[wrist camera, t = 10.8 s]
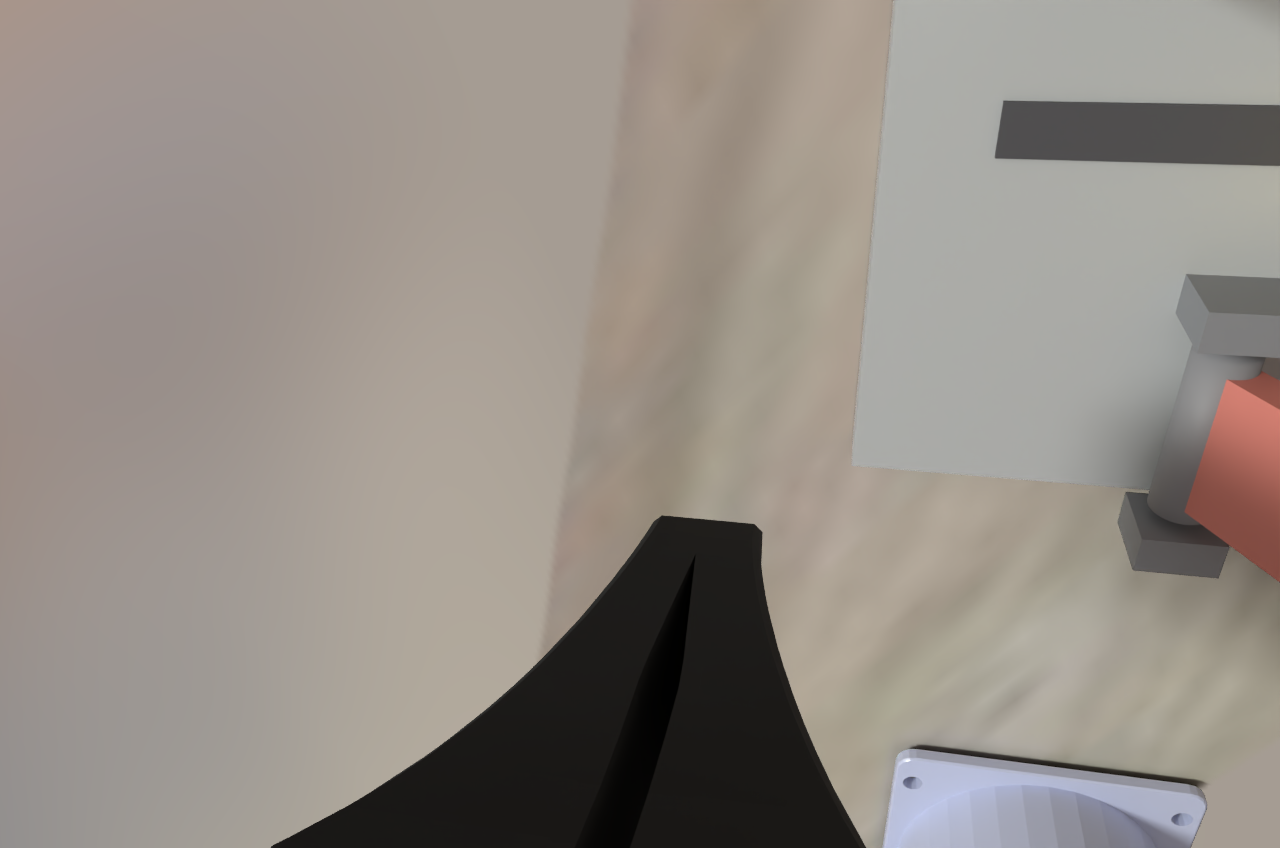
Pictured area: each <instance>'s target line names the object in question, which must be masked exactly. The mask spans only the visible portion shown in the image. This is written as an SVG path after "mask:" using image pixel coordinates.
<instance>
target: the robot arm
mask: <svg viewBox="0 0 1280 848" xmlns="http://www.w3.org/2000/svg"><path fill="white" fill-rule="evenodd" d="M761 555H762V531H761V530H760V529H759V528H758V527H757V526H756V525H755V524H748V523H737V522H726V521H715V520H705V519H694V518H683V517H672V516H661V517H659V518H658V519H657V520H655V521H654V522H653V524H652V525H651V527H650V528H649V530H648V531H647V533H646V534H645V536H644V537H643V539H642V540H641V542H640V543H639V545H638V546H637V547H636V549H635V550H634V552H633V553H632V554H631V556H630V557H629V558H628V560H627V561H626V562H625V564H624V565H623V566H622V568H621V569H620V570H619V572H618V573H617V574H616V576H615V577H614V578H613V579H612V581H611V582H610V583H609V584H608V585H607V587H606V588H605V589H604V590H603V591H602V593H601V594H600V595H599V596H598V597H597V599H596V600H595V601H594V602H593V603H592V605H591V606H590V607H589V608H588V609H587V611H586V612H585V613H584V614H583V615H582V617H581V618H580V619H579V620H578V621H577V622H576V623H575V624H574V625H573V626H572V627H571V629H570V630H569V631H568V632H567V633H566V634H565V635H564V636H563V637H562V638H561V639H560V640H559V641H558V642H557V643H556V644H555V645H554V646H553V648H552V649H551V650H550V651H549V652H548V653H547V654H546V655H545V656H544V657H543V658H542V659H541V660H540V661H539V662H538V663H537V664H536V665H535V666H534V667H533V668H532V669H531V670H530V671H529V672H528V673H527V674H526V675H525V676H524V677H522V678H521V679H520V680H519V681H518V682H517V683H516V684H515V685H514V686H513V687H512V688H510V689H509V690H508V691H507V692H506V693H505V694H504V695H503V696H502V697H500V698H499V699H498V700H497V701H496V702H494V703H493V704H492V705H491V706H490V707H489V708H487V709H486V710H485V711H484V712H483V713H481V714H480V715H479V716H477V717H476V718H475V719H474V720H472V721H471V722H470V723H469V724H467V725H466V726H465V727H464V728H462V729H461V730H460V731H459V732H457V733H456V734H455V735H454V736H452V737H451V738H450V739H448V740H447V741H446V742H444V743H443V744H442V745H440V746H439V747H438V748H436V749H435V750H433V751H432V752H431V753H429V754H428V755H427V756H425V757H424V758H422V759H421V760H419V761H418V762H416V763H414V764H413V765H411V766H410V767H408V768H407V769H405V770H404V771H402V772H401V773H399V774H398V775H396V776H395V777H393V778H392V779H390V780H388V781H387V782H385V783H384V784H382V785H381V786H379V787H378V788H376V789H375V790H373V791H372V792H371V793H369V794H367V795H365V796H364V797H362V798H360V799H359V800H357V801H355V802H354V803H352V804H350V805H349V806H347V807H345V808H343V809H341V810H339V811H337V812H336V813H334V814H332V815H330V816H328V817H326V818H324V819H322V820H321V821H319V822H317V823H315V824H313V825H311V826H309V827H308V828H306V829H304V830H302V831H300V832H298V833H296V834H295V835H293V836H291V837H289V838H287V839H285V840H283V841H281V842H279V843H277V844H275V845H273V846H271V848H866V847H865V845H864V843H863V841H862V839H861V838H860V836H859V834H858V832H857V830H856V829H855V827H854V825H853V823H852V821H851V819H850V818H849V816H848V814H847V812H846V810H845V809H844V807H843V805H842V803H841V801H840V799H839V798H838V796H837V794H836V792H835V790H834V788H833V786H832V784H831V782H830V780H829V778H828V776H827V774H826V772H825V769H824V767H823V765H822V763H821V761H820V759H819V757H818V755H817V752H816V750H815V748H814V746H813V743H812V741H811V739H810V736H809V734H808V732H807V729H806V727H805V725H804V722H803V719H802V717H801V714H800V712H799V709H798V707H797V704H796V701H795V699H794V696H793V693H792V690H791V687H790V684H789V681H788V678H787V675H786V672H785V670H784V667H783V663H782V660H781V657H780V653H779V650H778V647H777V643H776V639H775V635H774V631H773V627H772V623H771V619H770V615H769V611H768V606H767V601H766V596H765V590H764V584H763V577H762V568H761ZM911 777H915V778H911ZM1206 810H1207V802H1206V799H1205V796H1204V794H1203V792H1202V790H1201V789H1199V788H1197V787H1196V786H1193V785H1189V784H1182V783H1175V782H1167V781H1159V780H1152V779H1144V778H1136V777H1128V776H1121V775H1113V774H1105V773H1098V772H1090V771H1082V770H1075V769H1067V768H1059V767H1051V766H1044V765H1036V764H1028V763H1021V762H1013V761H1005V760H997V759H990V758H982V757H974V756H967V755H959V754H951V753H944V752H936V751H928V750H920V749H908V750H904V751H902V752H901V753H899V754H898V755H897V758H896V762H895V768H894V775H893V781H892V788H891V795H890V801H889V808H888V814H887V821H886V828H885V834H884V841H883V847H882V848H1191V846H1192V843H1193V841H1194V838H1195V836H1196V833H1197V831H1198V829H1199V826H1200V824H1201V821H1202V819H1203V816H1204V814H1205V812H1206Z"/></svg>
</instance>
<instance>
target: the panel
mask: <svg viewBox="0 0 1280 848" xmlns="http://www.w3.org/2000/svg"><path fill="white" fill-rule="evenodd" d="M1192 345H1193V346H1194V348H1195V350H1196V352H1197V353H1201V354H1218V355H1235V356H1252V357H1266V359H1265V362H1264V365H1263V368H1262V371H1263V372H1265V373H1266V374H1268V375H1270V376H1272V377H1274V378H1276V379H1277V380H1279V381H1280V0H893V10H892V21H891V32H890V43H889V53H888V64H887V75H886V85H885V96H884V107H883V118H882V128H881V139H880V150H879V160H878V171H877V182H876V193H875V203H874V214H873V225H872V235H871V246H870V257H869V268H868V278H867V289H866V300H865V311H864V321H863V332H862V343H861V353H860V364H859V375H858V386H857V396H856V407H855V418H854V428H853V443H852V466H861V467H873V468H886V469H898V470H910V471H923V472H935V473H947V474H959V475H972V476H984V477H996V478H1009V479H1021V480H1033V481H1046V482H1058V483H1070V484H1082V485H1095V486H1107V487H1119V488H1132V489H1144V490H1150V487H1151V484H1152V480H1153V477H1154V473H1155V470H1156V467H1157V463H1158V460H1159V456H1160V453H1161V449H1162V446H1163V443H1164V439H1165V436H1166V432H1167V429H1168V426H1169V422H1170V419H1171V415H1172V412H1173V408H1174V405H1175V402H1176V398H1177V395H1178V391H1179V388H1180V384H1181V381H1182V378H1183V374H1184V371H1185V367H1186V364H1187V360H1188V357H1189V354H1190V350H1191V347H1192ZM1147 497H1148V494H1145V493H1133V492H1126V493H1125V497H1124V500H1123V504H1122V507H1121V511H1120V515H1119V518H1118V525H1119V528H1120V531H1121V534H1122V538H1123V541H1124V544H1125V547H1126V550H1127V553H1128V556H1129V560H1130V563H1131V566H1132V569H1133V570H1135V571H1146V572H1157V573H1167V574H1178V575H1188V576H1199V577H1209V578H1219V575H1220V573H1221V570H1222V567H1223V564H1224V561H1225V559H1226V556H1227V553H1228V550H1229V548H1230V547H1229V545H1228V544H1227V543H1226V542H1224V541H1223V540H1222V539H1220V538H1219V537H1218V536H1216V535H1215V534H1213V533H1212V532H1211V531H1209V530H1208V529H1207V528H1205V527H1204V526H1203V525H1201V524H1200V525H1182V524H1177V523H1174V522H1170V521H1168V520H1165V519H1163V518H1161V517H1160V516H1158V515H1157V514H1155V513H1154V512H1153V511H1152V510H1151V509H1150V508H1149V506H1148V504H1147Z"/></svg>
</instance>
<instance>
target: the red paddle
mask: <svg viewBox="0 0 1280 848" xmlns="http://www.w3.org/2000/svg"><path fill="white" fill-rule="evenodd" d="M1265 359H1266V357H1252V356H1235V355H1218V354H1201V353H1197V352H1196V350H1195V348H1194V346H1193V345H1192V347H1191V350H1190V354H1189V357H1188V360H1187V364H1186V367H1185V371H1184V374H1183V378H1182V381H1181V384H1180V388H1179V391H1178V395H1177V398H1176V402H1175V405H1174V408H1173V412H1172V415H1171V419H1170V422H1169V426H1168V429H1167V432H1166V436H1165V439H1164V443H1163V446H1162V449H1161V453H1160V456H1159V460H1158V463H1157V467H1156V470H1155V473H1154V477H1153V480H1152V484H1151V487H1150V491H1149V494H1148V497H1147V504H1148V506H1149V508H1150V509H1151V510H1152V511H1153V512H1154V513H1155V514H1157V515H1158V516H1160V517H1161V518H1163V519H1165V520H1168V521H1170V522H1174V523H1177V524H1182V525H1200V524H1201V525H1203V526H1204V527H1205V528H1207V529H1208V530H1209V531H1211V532H1212V533H1213V534H1215V535H1216V536H1218V537H1219V538H1220V539H1222V540H1223V541H1224V542H1226V543H1227V544H1228V545H1230V546H1231V547H1233V548H1234V549H1235V550H1237V551H1238V552H1239V553H1241V554H1242V555H1243V556H1245V557H1246V558H1247V559H1249V560H1250V561H1252V562H1253V563H1254V564H1256V565H1257V566H1258V567H1260V568H1261V569H1262V570H1264V571H1265V572H1267V573H1268V574H1269V575H1271V576H1272V577H1273V578H1275V579H1276V580H1277V581H1279V582H1280V381H1279V380H1277V379H1276V378H1274V377H1272V376H1270V375H1268V374H1266V373H1265V372H1263V371H1262V368H1263V365H1264V362H1265Z"/></svg>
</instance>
